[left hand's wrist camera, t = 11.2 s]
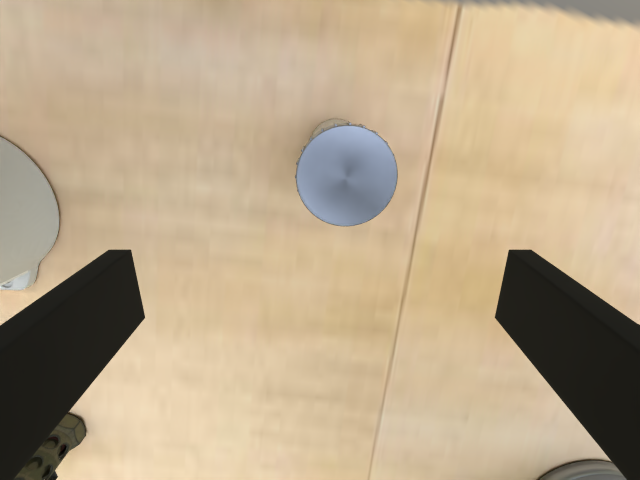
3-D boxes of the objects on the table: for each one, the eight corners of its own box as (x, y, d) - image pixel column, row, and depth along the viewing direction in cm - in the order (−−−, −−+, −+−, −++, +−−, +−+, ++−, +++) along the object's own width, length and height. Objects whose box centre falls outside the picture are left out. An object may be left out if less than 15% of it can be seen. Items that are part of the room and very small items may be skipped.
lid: (351, 100, 19) (355, 99, 17) (408, 175, 21) (419, 184, 18) (278, 164, 20) (273, 171, 18) (337, 232, 22) (339, 246, 20)
